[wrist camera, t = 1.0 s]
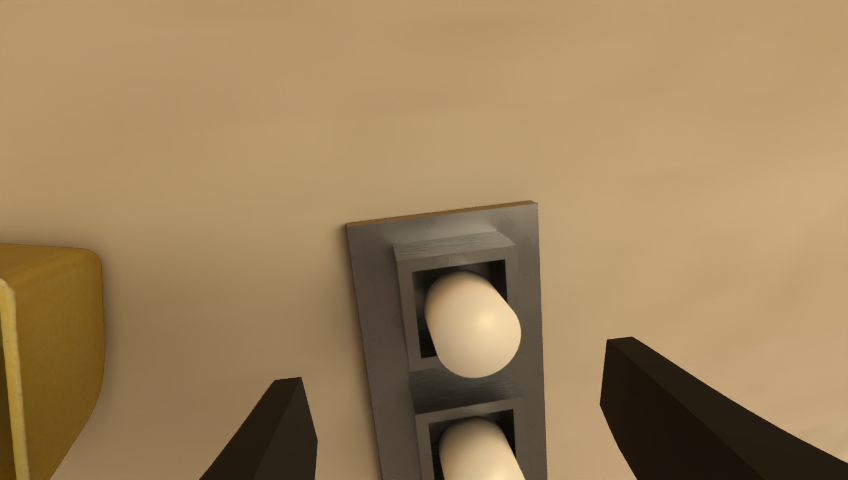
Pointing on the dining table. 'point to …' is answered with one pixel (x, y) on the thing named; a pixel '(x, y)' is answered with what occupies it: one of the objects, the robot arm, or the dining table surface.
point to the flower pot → (47, 354)
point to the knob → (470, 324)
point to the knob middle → (477, 452)
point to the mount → (412, 343)
